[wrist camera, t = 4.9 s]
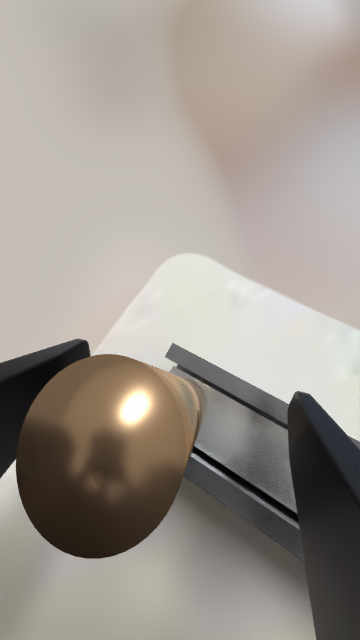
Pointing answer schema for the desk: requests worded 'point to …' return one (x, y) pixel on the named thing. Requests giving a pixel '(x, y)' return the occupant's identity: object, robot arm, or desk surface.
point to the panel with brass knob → (132, 451)
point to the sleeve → (224, 481)
